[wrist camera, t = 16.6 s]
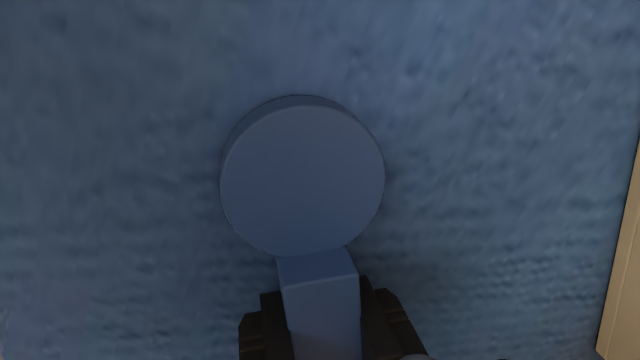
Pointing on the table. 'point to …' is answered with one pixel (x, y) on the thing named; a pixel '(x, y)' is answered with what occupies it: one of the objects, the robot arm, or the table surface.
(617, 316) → the sorting tray
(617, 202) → the table surface
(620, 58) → the table surface
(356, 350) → the blue spoon
